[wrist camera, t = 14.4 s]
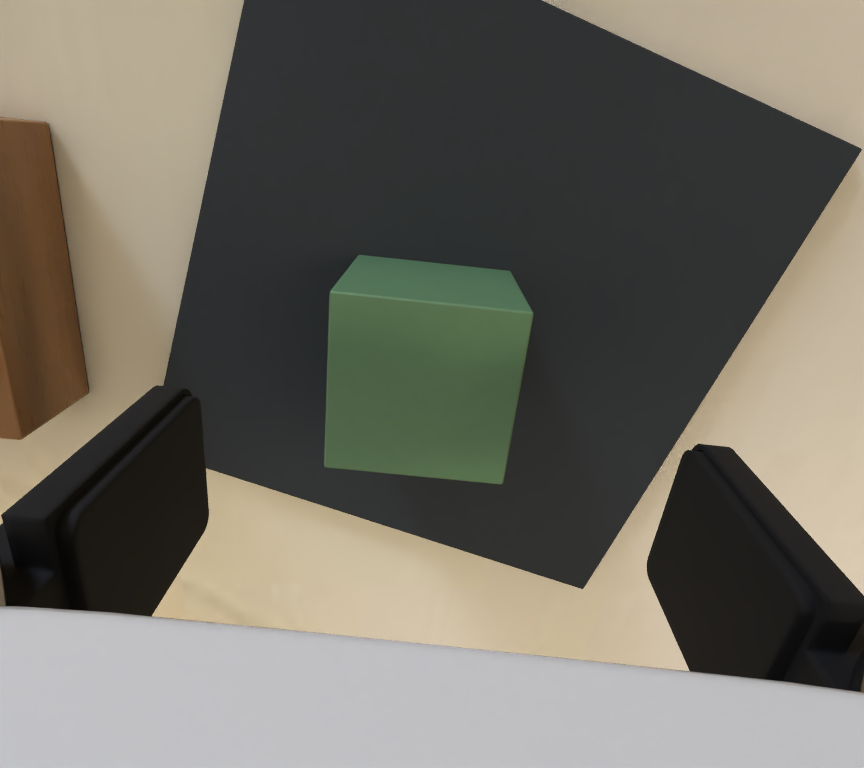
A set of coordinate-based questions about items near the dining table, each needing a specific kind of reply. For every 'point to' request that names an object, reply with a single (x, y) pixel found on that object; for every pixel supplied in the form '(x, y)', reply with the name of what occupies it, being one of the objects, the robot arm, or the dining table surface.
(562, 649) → the dining table surface
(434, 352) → the green block
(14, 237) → the oak block
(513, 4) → the mat
